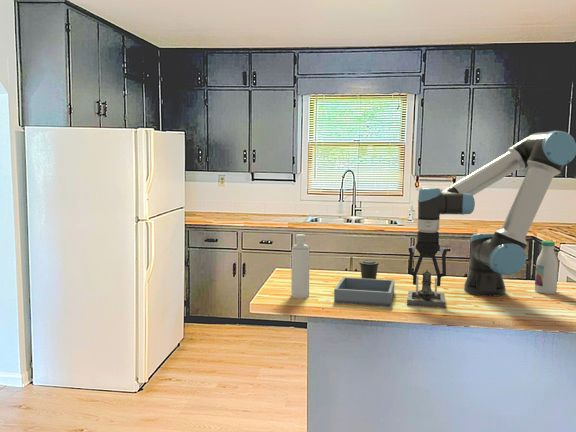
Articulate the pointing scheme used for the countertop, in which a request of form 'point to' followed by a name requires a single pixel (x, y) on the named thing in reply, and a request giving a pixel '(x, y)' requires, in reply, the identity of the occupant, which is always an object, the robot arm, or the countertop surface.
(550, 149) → the robot arm
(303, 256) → the white plastic bottle
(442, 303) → the collar
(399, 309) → the countertop surface
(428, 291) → the dark grey tall piece
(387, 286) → the bin
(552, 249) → the milk bottle
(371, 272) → the coffee cup
